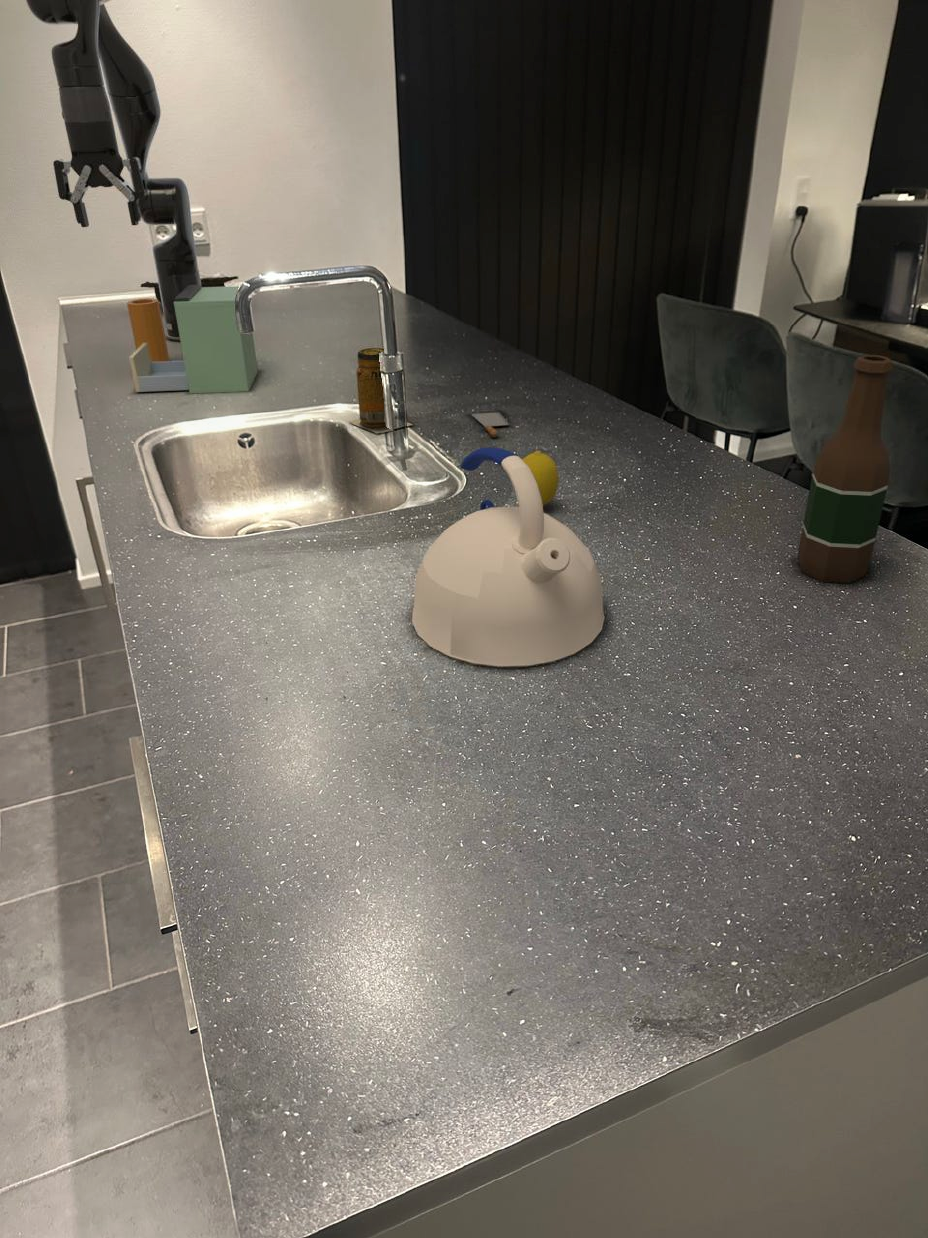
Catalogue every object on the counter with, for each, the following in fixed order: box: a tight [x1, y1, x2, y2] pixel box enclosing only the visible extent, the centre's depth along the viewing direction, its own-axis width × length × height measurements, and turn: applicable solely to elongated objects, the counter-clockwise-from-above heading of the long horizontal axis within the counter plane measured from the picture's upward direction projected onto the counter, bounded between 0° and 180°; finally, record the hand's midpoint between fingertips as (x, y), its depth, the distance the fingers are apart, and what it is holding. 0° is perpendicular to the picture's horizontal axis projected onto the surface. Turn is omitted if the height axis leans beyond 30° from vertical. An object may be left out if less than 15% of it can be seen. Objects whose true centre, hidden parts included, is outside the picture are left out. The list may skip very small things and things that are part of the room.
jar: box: [126, 297, 171, 362], centre depth 184 cm, size 6×6×13 cm
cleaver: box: [470, 411, 510, 439], centre depth 150 cm, size 13×1×5 cm
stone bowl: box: [140, 275, 239, 304], centre depth 235 cm, size 25×25×9 cm
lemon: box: [522, 450, 559, 506], centre depth 118 cm, size 6×6×8 cm
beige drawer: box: [128, 343, 189, 393], centre depth 173 cm, size 11×11×6 cm
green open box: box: [174, 285, 259, 394], centre depth 171 cm, size 14×11×17 cm
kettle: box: [411, 446, 605, 668], centre depth 91 cm, size 20×21×18 cm
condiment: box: [349, 347, 413, 434], centre depth 148 cm, size 7×8×12 cm
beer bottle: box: [797, 354, 894, 584], centre depth 97 cm, size 8×8×24 cm
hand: (110, 225), depth 156 cm, fingers open, 8 cm apart
